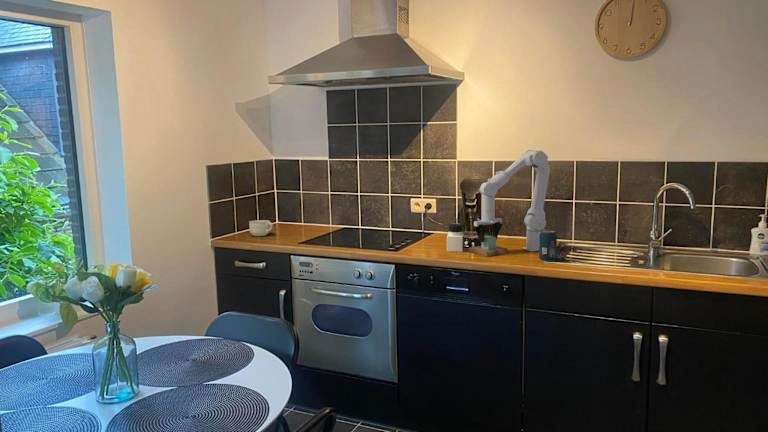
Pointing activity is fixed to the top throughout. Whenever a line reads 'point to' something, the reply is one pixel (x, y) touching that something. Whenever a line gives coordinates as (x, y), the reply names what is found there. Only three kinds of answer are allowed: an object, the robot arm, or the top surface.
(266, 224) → the teacup
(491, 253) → the walnut base
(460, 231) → the medicine bottle
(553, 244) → the soda can
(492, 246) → the teal block
